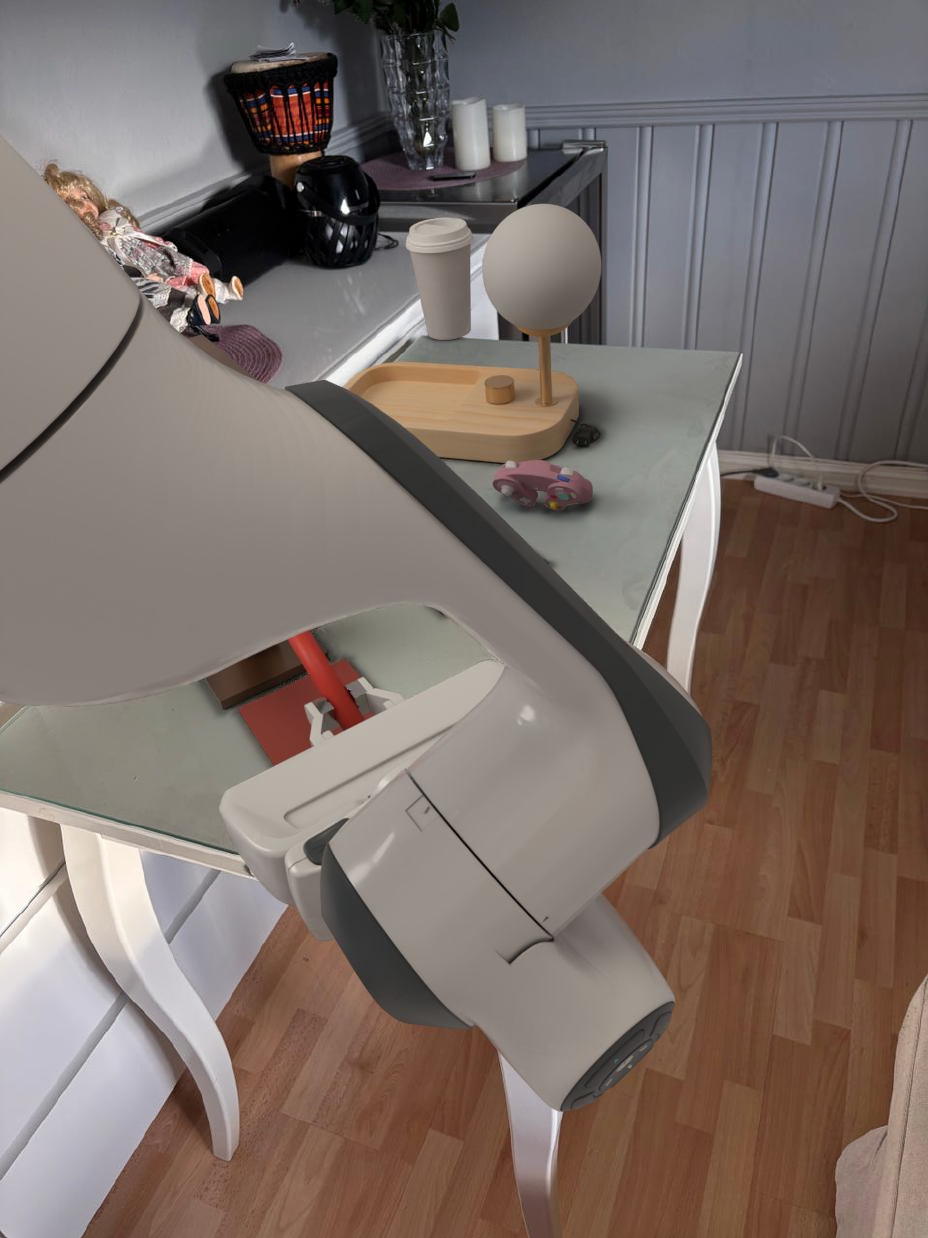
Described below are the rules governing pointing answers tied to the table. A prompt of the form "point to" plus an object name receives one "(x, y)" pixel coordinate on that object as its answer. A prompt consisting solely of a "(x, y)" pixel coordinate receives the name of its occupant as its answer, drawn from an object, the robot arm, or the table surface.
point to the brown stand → (272, 661)
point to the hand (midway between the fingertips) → (334, 697)
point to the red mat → (290, 715)
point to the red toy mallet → (326, 679)
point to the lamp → (497, 396)
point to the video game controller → (542, 484)
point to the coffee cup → (443, 275)
